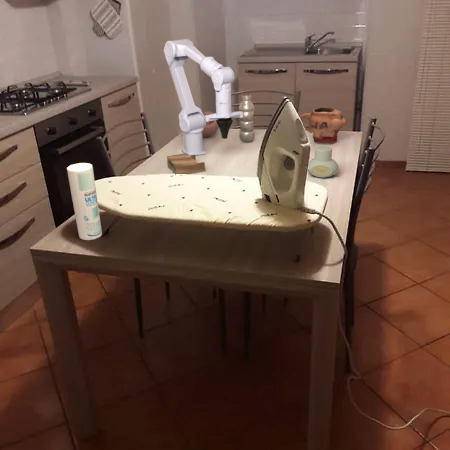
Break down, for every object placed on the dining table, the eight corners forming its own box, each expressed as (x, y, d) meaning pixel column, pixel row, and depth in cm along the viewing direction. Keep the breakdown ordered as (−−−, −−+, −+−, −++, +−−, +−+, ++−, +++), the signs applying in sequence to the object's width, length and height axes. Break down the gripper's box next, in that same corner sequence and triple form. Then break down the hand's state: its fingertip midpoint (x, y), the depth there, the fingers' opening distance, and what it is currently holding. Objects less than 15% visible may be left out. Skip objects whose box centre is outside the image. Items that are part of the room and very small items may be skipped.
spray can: (91, 242, 136) (80, 172, 128) (73, 237, 139) (61, 168, 131) (107, 232, 141) (97, 164, 133) (89, 228, 144) (79, 161, 136)
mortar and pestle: (190, 139, 224) (189, 114, 219) (196, 132, 235) (195, 108, 230) (217, 140, 222) (216, 114, 217) (221, 133, 233) (220, 108, 228)
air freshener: (338, 172, 181) (340, 145, 177) (336, 180, 174) (338, 152, 169) (308, 170, 184) (309, 143, 179) (305, 178, 176) (306, 150, 172)
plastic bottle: (255, 143, 216) (255, 96, 208) (239, 143, 217) (238, 96, 208) (254, 139, 222) (254, 93, 214) (239, 139, 222) (238, 93, 214)
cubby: (167, 166, 191) (166, 156, 190) (195, 162, 195) (194, 152, 193) (176, 176, 182) (175, 164, 180) (205, 171, 186) (204, 160, 184)
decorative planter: (296, 144, 213) (297, 112, 207) (298, 137, 223) (299, 105, 217) (344, 146, 209) (347, 113, 203) (344, 138, 220) (347, 106, 214)
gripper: (208, 106, 180) (210, 143, 185) (245, 102, 184) (246, 138, 190) (202, 102, 186) (203, 138, 191) (238, 98, 190) (239, 133, 196)
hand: (224, 138), depth 191 cm, fingers closed
